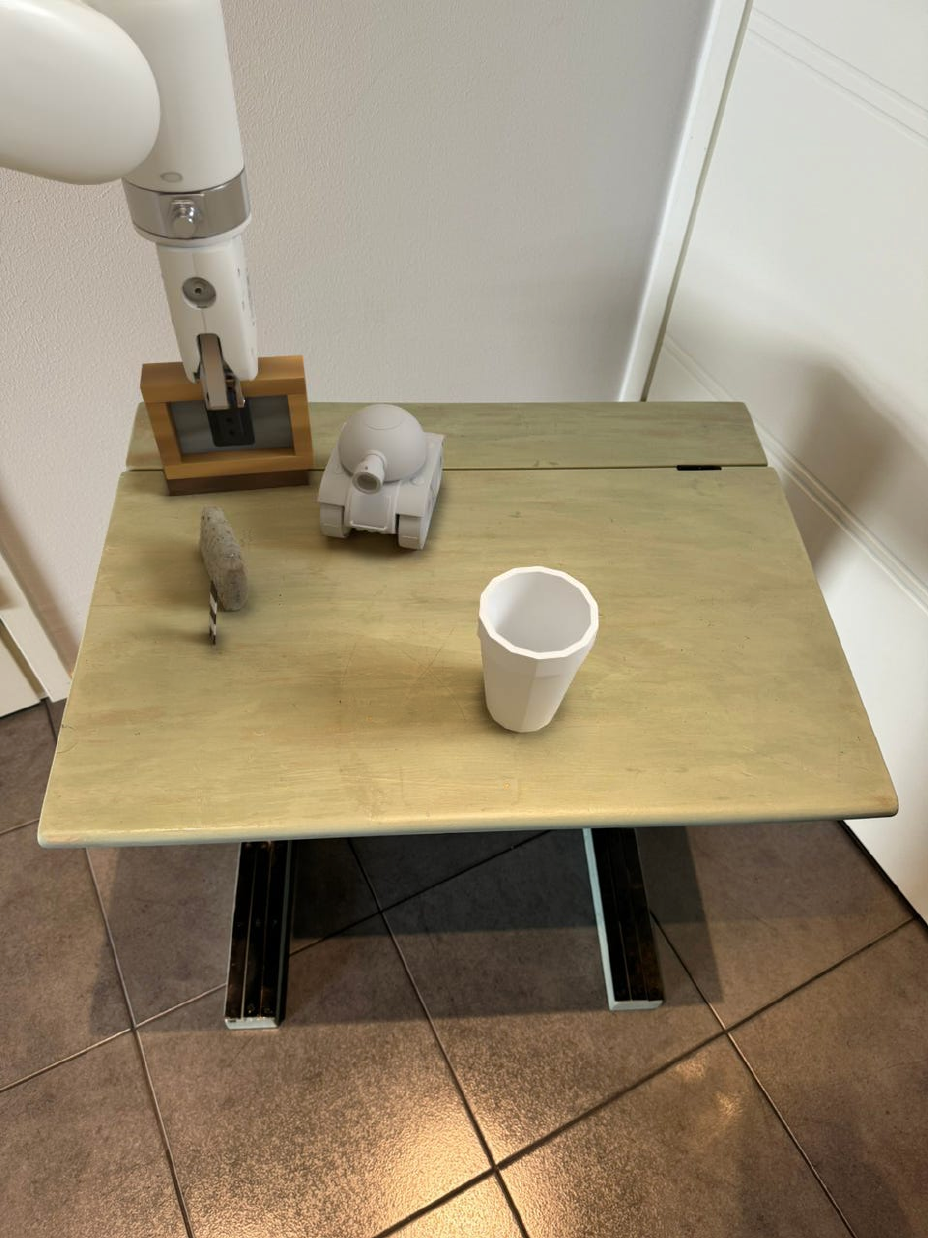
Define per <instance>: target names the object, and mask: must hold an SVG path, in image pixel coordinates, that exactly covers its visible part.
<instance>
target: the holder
mask: <svg viewBox="0 0 928 1238" xmlns="http://www.w3.org/2000/svg"><path fill="white" fill-rule="evenodd" d="M308 471H309V470H308V469H301V470H288V471H274V472H261V473H248V474H234V475H221V476H208V477H194V478H181V479H167V477H166V474H165V471H164V467H163V466H162V472H163V476H164V479H165V482H166V486H167V488H168V492H169V495H170V497H175V496H188V495H200V494H211V493H222V492H234V491H243V490H245V491H246V490H255V489H268V488H269V489H270V488H279V487H281V488H282V487H290V486H291V487H292V486H293V487H294V486H305V485H309V484H310V481H309V480H310V479H309V473H308Z"/></svg>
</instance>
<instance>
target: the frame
mask: <svg viewBox="0 0 928 1238" xmlns="http://www.w3.org/2000/svg"><path fill="white" fill-rule="evenodd" d="M306 380H307V379H306V371H305V362H304V356H303V354H297V355H295V354H293V355H277V356H260V357H259V356H258V374H257V376H256V378H255V379H254V380H253V381H249V380H246V381H241V382H242V388H243V393H244V399H248V400H249V406H250V412H251V417H252V423H253V428H254V434H255V443H254V444H253V445H243V446H229V447H216V446H215V445H214V443H213V439H212V435H211V430H210V426H209V421H208V417H207V413H206V408H205V397H204V392H203V388H202V383H201V378H200V381H198V384H194V383H193V382H191V381H190V380H189V379H188V378H187V375H186V372H185V369H184V366H183V362H182V361H168V362H167V361H165V362H149V363H148V362H147V363H142V365H141V373H140V382H139V389H140V392H141V396H142V399H143V403H144V406H145V410H146V413H147V416H148V419H149V424H150V426H151V431H152V434H153V437H154V441H155V443H156V447H157V450H158V454H159V457H160V460H161V464H162V468H163V467H164V471H165V474H166V477H167V479H181V478H194V477H208V476H221V475H234V474H248V473H261V472H274V471H288V470H301V469H307V470H312V469H313V470H314V469H316V464H315V451H314V442H313V435H312V425H311V416H310V406H309V398H308V388H307V381H306ZM226 385H227V387H232V388H233V389H234V385H233V380H226Z"/></svg>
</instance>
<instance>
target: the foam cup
mask: <svg viewBox="0 0 928 1238" xmlns="http://www.w3.org/2000/svg"><path fill="white" fill-rule="evenodd" d="M477 618H478V619H477V631H476V632H477V634H476V635H477V637H478V639H479V642H480V652H481V662H482V663H481V664H482V672H483V673H482V674H483V681H484V682H483V683H484V691H485V692H484V694H485V703H486V708H487V710H488V712H489V714H490V716H491V718H492V720H493V721H495V722H496V723H498V724H499V725H500V726H501V727H503V728H504V729H506V730H509V731H512V732H516V733H520V734H522V733H532V732H537V731H539V730H541V729H542V728H544V727H546V726H548V725H549V724H550V722H551V721H552V719H553V717H554V716H555V714H556V713H557V710H558V709H559V707H560V705H561V703H562V701H563V699H564V697H565V695H566V693H567V691H568V689H569V688H570V686H571V684H572V682H573V679H574V677H575V676H576V674H577V672H578V670H579V668H580V666H581V664H583V663H584V661H585V659H586V658H587V656H588V655H589V652H590V651H591V649H592V648H593V646H594V645H595V640H596V637H597V633H598V631H599V626H600V625H599V605H598V603H597V601H596V600H595V598H594V597H593V596H592V594H591V592H590V591H589V589H588V588H587V586H586V585H585V584H583V583H581V581H579V580H577V579H575V578H574V577H572V575H570V574H568V573H566V572H565V571H561V570H558V569H554V568H549V567H546V566H542V565H534V566H523V567H522V566H521V567H513V568H512V569H509V570H507V571H505V572H503V573H501V574H500V575H497V576H494V577H493V578H492V579H491V580H490V582H489V583H488V584H487V586H486V587H485V589H484V590H483V592H482V593H481V594H480V597H479V607H478V617H477Z"/></svg>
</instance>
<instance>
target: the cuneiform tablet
mask: <svg viewBox="0 0 928 1238" xmlns="http://www.w3.org/2000/svg"><path fill="white" fill-rule="evenodd" d="M199 531H200V532H199V540H198V547H199V550H200V551H199V552H200V553H201V555H202V557H203V562H204V567H205V568H206V571H207V574H208V576H209V578H210V592H209V593H210V594H209V596H210V597H209V631H208V635H209V637H210V640H211V642H212V645H213V646H216V637H217V635H216V634H217V611H218V610H217V609H218V607H217V606H218V598H219V600H220V603H221V605H222V606H223V607H224V609H225V610H226V611H228V612H235V611H240V610H242V609H243V608H244V606H245V605H246V603H247V601H248V599H249V596H250V592H251V591H250V589H251V587H250V583H251V582H250V581H251V580H250V578H249V570H248V568H247V565H246V561H245V558H244V555H243V552H242V548H241V546H240V543H239V541H238V538H237V537H236V535H235V532H234V530H233V529H232V527H231V524H230V523H229V521H228V520H227V518H226V515H225V513H224V512H223V510H222V509H221V508H220V507H218V506H214V507H211V506H205V507H203V509H202V511H201V514H200V529H199Z"/></svg>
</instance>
